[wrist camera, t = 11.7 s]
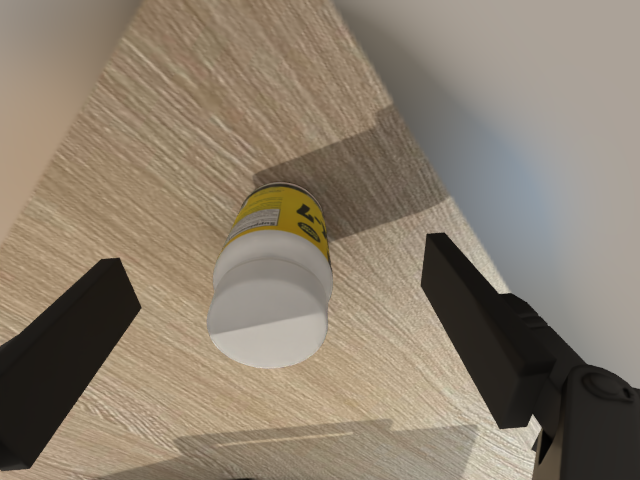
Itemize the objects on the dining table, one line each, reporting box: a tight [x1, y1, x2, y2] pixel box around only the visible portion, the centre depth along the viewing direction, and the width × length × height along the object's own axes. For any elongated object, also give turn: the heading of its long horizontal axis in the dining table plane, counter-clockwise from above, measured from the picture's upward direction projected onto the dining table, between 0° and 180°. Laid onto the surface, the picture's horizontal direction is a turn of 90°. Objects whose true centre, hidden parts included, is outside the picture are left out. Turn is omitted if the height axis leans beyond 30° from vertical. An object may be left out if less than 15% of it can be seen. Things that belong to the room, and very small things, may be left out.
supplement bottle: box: [207, 182, 333, 369], centre depth 14 cm, size 5×5×8 cm
